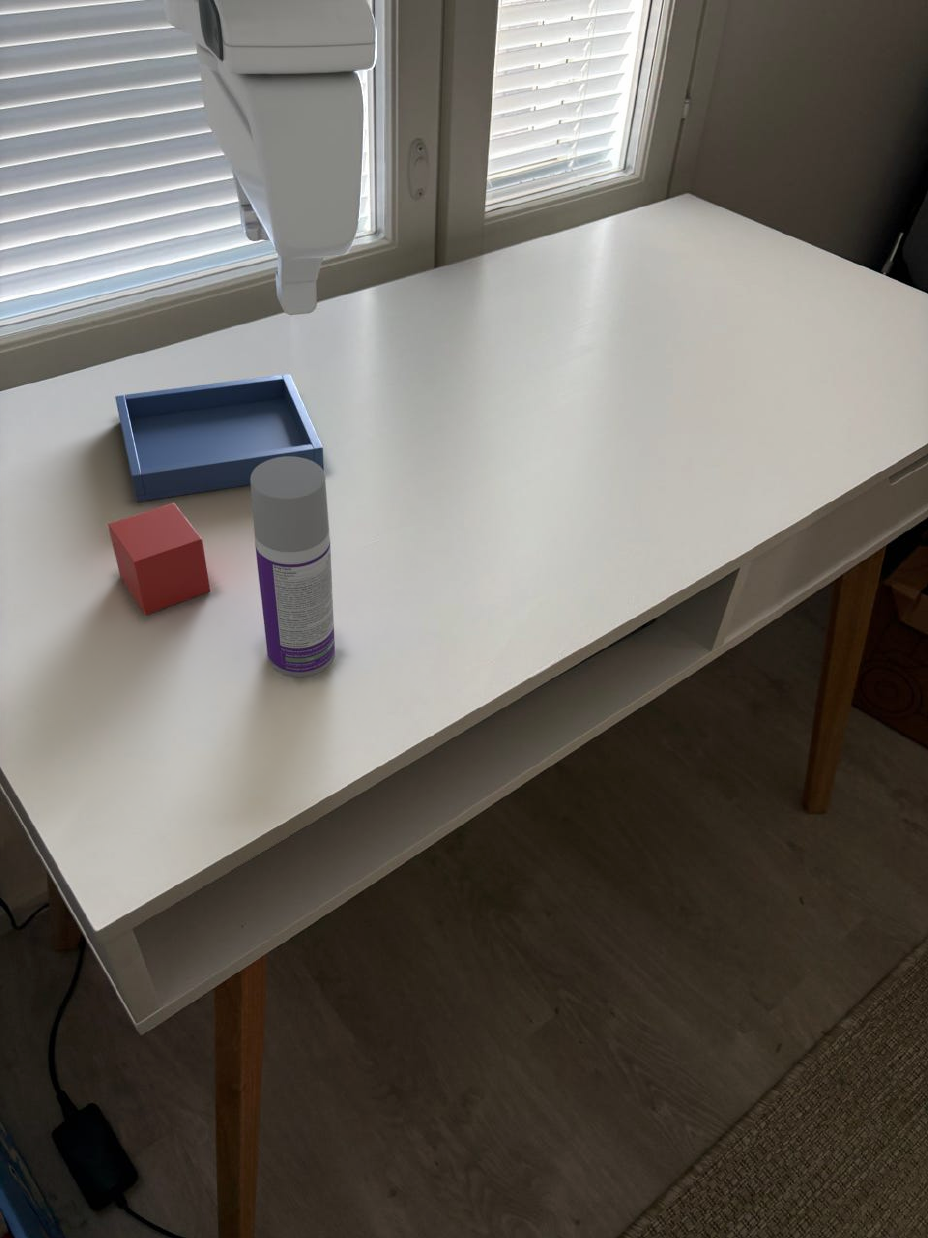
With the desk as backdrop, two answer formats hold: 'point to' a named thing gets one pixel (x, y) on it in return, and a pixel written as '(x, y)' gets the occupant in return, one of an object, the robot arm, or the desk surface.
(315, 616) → the container
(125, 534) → the red block
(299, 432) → the tray
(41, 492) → the desk surface
